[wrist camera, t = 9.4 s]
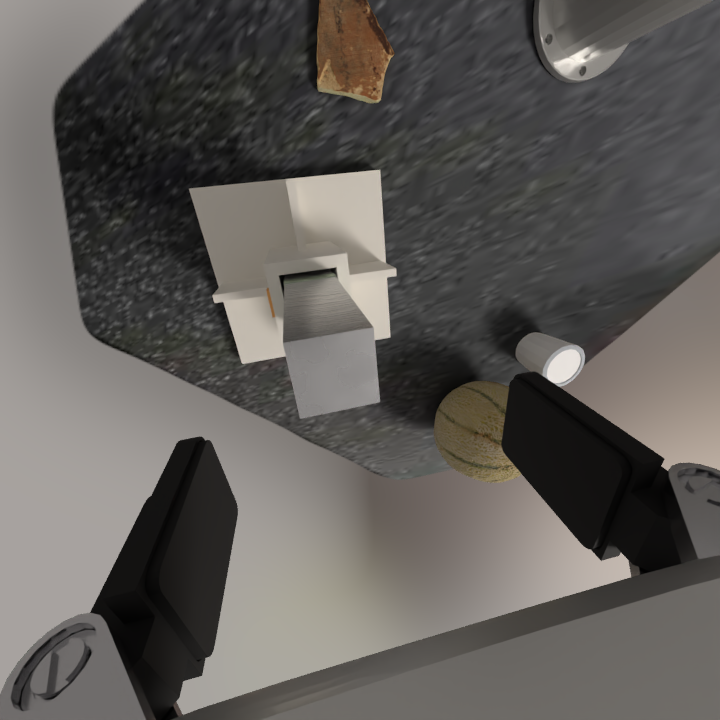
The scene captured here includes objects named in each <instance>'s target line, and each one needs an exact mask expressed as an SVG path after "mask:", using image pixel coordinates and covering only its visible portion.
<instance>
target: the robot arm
mask: <svg viewBox="0 0 720 720" xmlns="http://www.w3.org/2000/svg"><path fill="white" fill-rule="evenodd" d="M712 1H714V0H535V3H534V13H533V32H534V38H535V44H536V48H537V51H538V54H539V57H540V59H541V61H542V63H543V65H544V66H545V68H546V69H547V70H548V71H549V72H550V74H551V75H552V76H554V77H555V78H557V79H558V80H560V81H564V82H567V83H579V82H583V81H586V80H589V79H591V78H593V77H595V76H597V75H599V74H600V73H602V72H604V71H605V70H607V69H608V68H609V67H610V66H611V65H612V64H613V63H614V62H615V61H616V60H617V59H618V57H619V56H620V55H621V54H622V52H623V51H624V50H625V48H626V47H627V45H628V43H629V42H631V41H633V40H635V39H637V38H639V37H641V36H643V35H645V34H647V33H649V32H651V31H653V30H655V29H657V28H659V27H661V26H663V25H665V24H668V23H670V22H672V21H674V20H676V19H678V18H680V17H682V16H684V15H686V14H688V13H690V12H692V11H694V10H696V9H698V8H700V7H702V6H704V5H706V4H708V3H710V2H712ZM501 446H502V450H503V452H504V454H505V455H506V456H507V457H508V458H509V460H510V461H511V462H512V463H513V464H514V466H515V467H516V468H517V469H518V470H519V471H520V473H521V474H522V475H523V476H524V477H525V478H526V480H527V481H528V482H529V483H530V484H531V485H532V486H533V488H534V489H535V490H536V491H537V492H538V494H539V495H540V496H541V497H542V498H543V499H544V501H545V502H546V503H547V504H548V505H549V506H550V508H551V509H552V510H553V511H554V512H555V513H556V515H557V516H558V517H559V518H560V519H561V521H562V522H563V523H564V524H565V525H566V526H567V527H568V529H569V530H570V531H571V532H572V533H573V535H574V536H575V537H576V538H577V539H578V540H579V542H580V543H581V544H582V545H583V546H584V547H586V548H588V549H591V550H592V551H593V552H594V553H595V554H596V556H597V557H598V558H599V559H600V560H601V561H602V560H605V559H608V558H612V557H616V556H619V555H620V553H622V554H623V555H624V556H625V557H626V558H627V559H628V560H629V566H630V572H631V578H627V579H624V580H621V581H617V582H614V583H611V584H607V585H604V586H600V587H597V588H593V589H590V590H586V591H583V592H580V593H576V594H573V595H570V596H566V597H563V598H559V599H556V600H553V601H549V602H546V603H542V604H539V605H535V606H532V607H529V608H525V609H522V610H519V611H515V612H512V613H508V614H506V615H502V616H498V617H495V618H492V619H489V620H485V621H482V622H478V623H475V624H472V625H468V626H465V627H462V628H459V629H455V630H452V631H449V632H445V633H442V634H438V635H435V636H432V637H428V638H425V639H422V640H418V641H415V642H412V643H409V644H405V645H402V646H399V647H395V648H392V649H389V650H386V651H382V652H379V653H376V654H372V655H369V656H366V657H362V658H359V659H356V660H353V661H349V662H346V663H343V664H340V665H336V666H333V667H330V668H326V669H323V670H320V671H316V672H313V673H310V674H307V675H304V676H300V677H297V678H294V679H290V680H287V681H284V682H281V683H278V684H275V685H271V686H268V687H266V688H262V689H259V690H256V691H253V692H250V693H247V694H244V695H241V696H238V697H235V698H232V699H229V700H226V701H222V702H219V703H216V704H213V705H210V706H207V707H204V708H201V709H198V710H196V711H193V712H190V713H188V714H185V715H183V714H182V713H181V710H180V708H179V706H178V704H177V702H176V701H177V700H178V698H179V697H180V692H181V688H182V684H183V681H185V680H188V679H192V678H195V677H199V676H202V673H203V667H204V663H205V658H206V657H209V656H211V654H212V652H213V650H214V645H215V640H216V634H217V629H218V623H219V618H220V612H221V606H222V601H223V595H224V589H225V584H226V578H227V572H228V567H229V561H230V555H231V550H232V544H233V538H234V533H235V527H236V521H237V515H238V508H237V503H236V500H235V498H234V495H233V493H232V491H231V488H230V486H229V483H228V481H227V479H226V476H225V474H224V471H223V469H222V466H221V464H220V462H219V459H218V457H217V454H216V452H215V450H214V447H213V445H212V443H211V441H210V440H206V441H205V440H204V438H203V437H195V438H190V439H185V440H180V441H179V442H178V443H177V444H176V446H175V449H174V450H173V453H172V454H171V456H170V459H169V461H168V463H167V465H166V467H165V469H164V471H163V473H162V475H161V477H160V479H159V481H158V483H157V485H156V487H155V489H154V492H153V494H152V496H150V497H149V498H148V499H147V501H146V502H145V504H144V505H143V508H142V510H141V512H140V514H139V516H138V518H137V520H136V522H135V524H134V526H133V528H132V530H131V532H130V534H129V536H128V538H127V540H126V542H125V544H124V546H123V548H122V550H121V552H120V554H119V556H118V558H117V560H116V562H115V564H114V566H113V568H112V570H111V572H110V574H109V576H108V578H107V580H106V582H105V584H104V586H103V588H102V590H101V592H100V595H99V596H98V598H97V600H96V602H95V604H94V606H93V608H92V610H91V612H90V613H87V614H80V615H77V616H75V617H73V618H70V619H68V620H66V621H64V622H62V623H61V624H59V625H58V626H56V627H55V628H54V629H52V630H50V631H49V632H47V633H46V634H45V635H44V636H43V637H42V638H41V639H40V640H38V641H37V642H36V643H35V644H34V645H33V646H32V647H31V648H30V649H29V650H28V651H27V653H26V654H25V655H24V656H23V657H22V658H21V660H20V661H19V662H18V663H17V665H16V666H15V668H14V669H13V671H12V672H11V674H10V676H9V677H8V678H7V680H6V682H5V685H4V687H3V689H2V692H1V694H0V720H720V471H719V470H717V469H714V468H711V467H708V466H704V465H701V464H694V463H678V464H675V465H673V466H671V468H670V469H669V471H667V470H665V469H664V468H663V467H661V465H662V463H663V461H664V458H663V457H661V456H660V455H658V454H657V453H655V452H654V451H652V450H651V449H650V448H648V447H646V446H645V445H644V444H642V443H641V442H639V441H638V440H636V439H635V438H633V437H632V436H630V435H629V434H628V433H626V432H625V431H623V430H622V429H620V428H619V427H617V426H616V425H614V424H613V423H611V422H610V421H608V420H607V419H605V418H604V417H603V416H601V415H600V414H598V413H597V412H595V411H594V410H592V409H591V408H589V407H588V406H586V405H585V404H583V403H582V402H580V401H579V400H578V399H576V398H575V397H573V396H572V395H570V394H569V393H567V392H566V391H564V390H563V389H561V388H560V387H558V386H557V385H556V384H554V383H553V382H551V381H550V380H548V379H547V378H545V377H544V376H542V375H541V374H539V373H538V372H536V371H532V372H527V373H522V374H517V375H516V376H515V377H514V379H513V380H512V381H511V382H510V385H509V392H508V399H507V406H506V413H505V420H504V427H503V434H502V441H501Z"/></svg>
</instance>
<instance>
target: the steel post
mask: <svg viewBox="0 0 720 720" xmlns="http://www.w3.org/2000/svg"><path fill="white" fill-rule="evenodd" d="M283 346H284V351H285V355H286V359H287V364H288V368H289V372H290V377H291V381H292V385H293V390H294V394H295V398H296V403H297V407H298V411H299V416H300V419H301V418H306V417H311V416H316V415H321V414H325V413H330V412H335V411H340V410H345V409H349V408H354V407H359V406H364V405H369V404H373V403H378V402H380V395H379V383H378V372H377V360H376V349H375V337H374V327H373V326H372V325H371V323H370V322H369V321H368V319H367V318H366V317H365V315H364V314H363V313H362V311H361V310H360V309H359V307H358V306H357V305H356V303H355V302H354V301H353V299H352V298H351V297H350V295H349V294H348V293H347V291H346V290H345V289H344V287H343V286H342V285H341V283H340V282H339V281H338V279H337V278H336V275H335V274H334V273H332V271H331V270H330V269H329V268H328V269H321V270H314V271H307V272H300V273H293V274H286V275H285V280H284V317H283Z"/></svg>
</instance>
